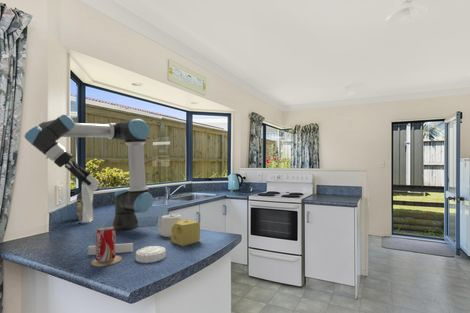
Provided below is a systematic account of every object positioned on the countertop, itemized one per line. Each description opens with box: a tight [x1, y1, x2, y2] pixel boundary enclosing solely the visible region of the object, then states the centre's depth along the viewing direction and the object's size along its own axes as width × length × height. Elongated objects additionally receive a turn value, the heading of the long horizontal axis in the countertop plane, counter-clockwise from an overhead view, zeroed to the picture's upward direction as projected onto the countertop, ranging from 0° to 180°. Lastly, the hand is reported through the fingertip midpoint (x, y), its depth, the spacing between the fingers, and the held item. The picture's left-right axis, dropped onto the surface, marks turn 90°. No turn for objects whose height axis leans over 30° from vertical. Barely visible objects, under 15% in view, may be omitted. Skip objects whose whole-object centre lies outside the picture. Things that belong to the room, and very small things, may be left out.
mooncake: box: [135, 245, 167, 264], centre depth 112 cm, size 12×12×4 cm
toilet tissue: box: [158, 213, 182, 238], centre depth 148 cm, size 11×12×10 cm
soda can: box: [95, 225, 116, 263], centre depth 108 cm, size 7×7×13 cm
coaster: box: [91, 255, 122, 268], centre depth 108 cm, size 11×11×1 cm
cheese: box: [170, 219, 201, 247], centre depth 134 cm, size 10×11×10 cm
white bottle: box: [78, 184, 94, 223], centre depth 182 cm, size 8×8×28 cm
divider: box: [88, 242, 134, 256], centre depth 119 cm, size 18×1×4 cm, turn 101°
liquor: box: [76, 182, 94, 220], centre depth 195 cm, size 9×9×30 cm
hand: (97, 187), depth 129 cm, fingers open, 13 cm apart
